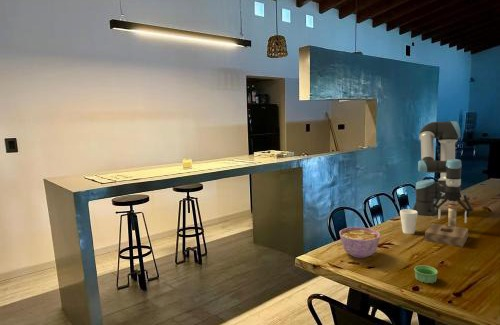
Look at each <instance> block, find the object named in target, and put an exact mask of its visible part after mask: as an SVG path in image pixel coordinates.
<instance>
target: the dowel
mask: <svg viewBox="0 0 500 325" xmlns="http://www.w3.org/2000/svg"><path fill="white" fill-rule="evenodd" d="M457 207H458V206H457V204H455V203H448V213H447V214H448V218H447V220H448V221H447V222H448V224H447V225H448V226H454V227H457Z"/></svg>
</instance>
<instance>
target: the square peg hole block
mask: <svg viewBox="0 0 500 325" xmlns="http://www.w3.org/2000/svg"><path fill="white" fill-rule="evenodd" d="M468 237H469V228H467V227H460V226H456V227H454V226H448V224H447V225H446V224H439V223H433V222H432V223H431V225H430V226H429V227H427V229H426V230H425V232H424V241H426V242H431V243H437V244H442V245H448V246H453V247H460V248H464V245H465V244H466V242H467V239H468Z"/></svg>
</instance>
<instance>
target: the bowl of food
mask: <svg viewBox="0 0 500 325" xmlns="http://www.w3.org/2000/svg"><path fill="white" fill-rule="evenodd" d="M339 236H340V240H341V244H342V247H343V250H345V252H346V253H347V254H348V255H350V256H352V257H354V258H357V257H358V259H365V258H368V257H369V256H372V255H375V253H376V252H377V248H378V246H379V242H380V238H381V233H380V232H379V231H377V230H376V229H372V228H370V227H369V228H368V227H362V226H352V227H351V226H350V227H346V228H343V229H341V230H339Z"/></svg>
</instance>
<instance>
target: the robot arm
mask: <svg viewBox="0 0 500 325" xmlns="http://www.w3.org/2000/svg"><path fill="white" fill-rule="evenodd" d="M418 138H419V140H420V153H421V154H420V155H421V156H420V157H421V158H420V159H421V160H418V162H417V163H418V164H417V165H418V166H417V171H418V172H420V173H427V174H428V173H429V174H430V173H435V174H436V173H438V174H440V178H438V179H437V182H435V180H434V179H423V180H419V181H417V182H416V183H415V202H414V205H413V207H412V210H415V211H417V212H418V215H419V216H430V217H431V216H436V215H437V216H438V217H437V220H440V219H441V212H442V209H441V206H443V204H445V203H446V202H447V201H449V202H457V203H458V204H459V205H460V206H461V207H462V208H463V209H464V224H467V222H468V221H467V220H468V218H469V217H470V212H473V211H474V208H473V206H472V204H471V202H470V201H469V199H468V195H467V194H466V193H465V194H462V193H461V192H462V191H461V188H462V187H461V185H462V166H463V164H462V160H461V159H457V158H456V144H457V142H458V140H459V139H461V128H460V124H459V122H458V121H454V120H453V121H452V120H451V121H450V120H448V121H431V122H428V123H426V124H425V125H424V126H423V127H422V128H421V129H420V131H419V133H418ZM434 139H437V140H438V141H437V142H439V143H440V160H435V148H434V146H435V145H434ZM461 198H462V199H463V200H464V202H463V200H461ZM440 200H442V201H441V202H440ZM439 202H440V203H439ZM438 203H439V204H438Z"/></svg>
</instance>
